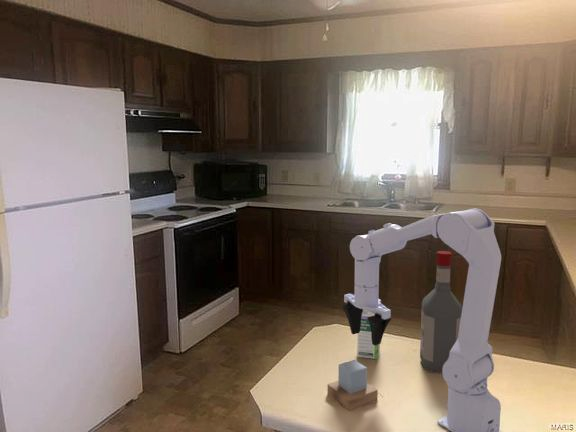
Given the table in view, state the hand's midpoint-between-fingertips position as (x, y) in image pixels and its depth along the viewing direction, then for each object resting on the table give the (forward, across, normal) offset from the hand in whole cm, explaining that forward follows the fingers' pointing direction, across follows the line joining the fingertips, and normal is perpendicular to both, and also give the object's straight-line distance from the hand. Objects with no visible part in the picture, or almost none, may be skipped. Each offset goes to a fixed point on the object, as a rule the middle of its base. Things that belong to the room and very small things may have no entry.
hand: (365, 338), depth 112 cm
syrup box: (+11, +10, -10) cm, 18 cm away
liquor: (+11, -5, -21) cm, 24 cm away
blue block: (+8, -5, +8) cm, 12 cm away
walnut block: (+11, -5, +8) cm, 15 cm away
